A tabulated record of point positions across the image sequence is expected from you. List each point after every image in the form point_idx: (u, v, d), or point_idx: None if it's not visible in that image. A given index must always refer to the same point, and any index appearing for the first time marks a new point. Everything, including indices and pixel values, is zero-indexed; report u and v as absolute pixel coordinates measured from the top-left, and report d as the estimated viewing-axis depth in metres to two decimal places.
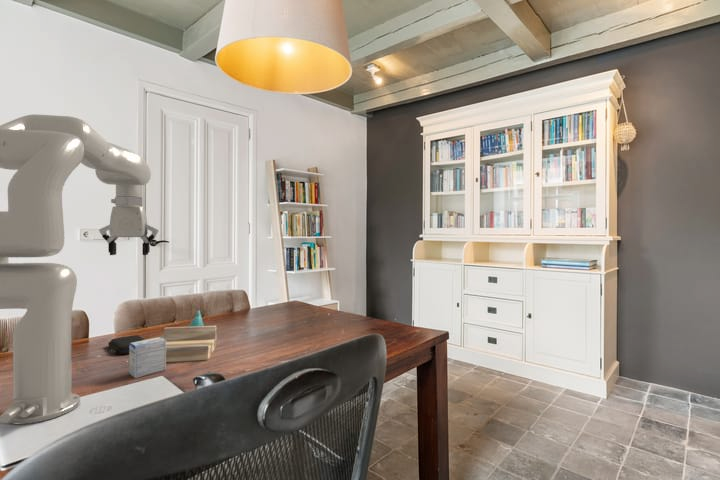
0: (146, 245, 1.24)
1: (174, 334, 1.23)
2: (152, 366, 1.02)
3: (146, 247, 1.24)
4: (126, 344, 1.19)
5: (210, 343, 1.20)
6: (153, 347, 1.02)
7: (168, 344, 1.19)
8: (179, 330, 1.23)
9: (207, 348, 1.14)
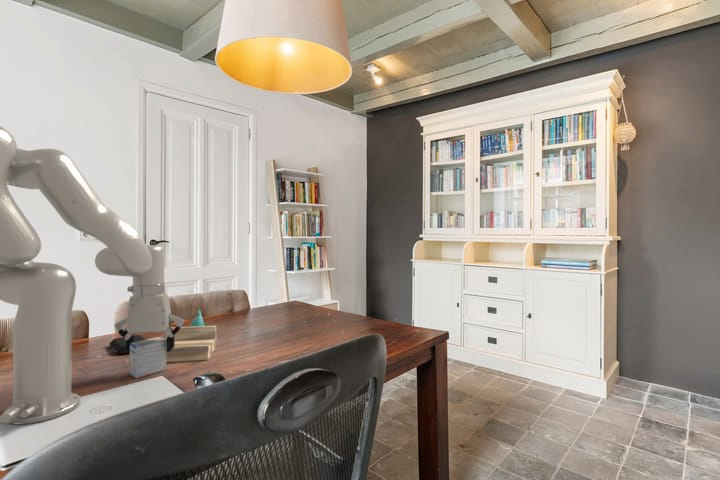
0: (171, 339, 1.04)
1: None
2: (152, 366, 1.02)
3: (171, 342, 1.04)
4: None
5: (210, 343, 1.20)
6: (154, 347, 1.02)
7: None
8: (179, 330, 1.23)
9: (207, 348, 1.14)
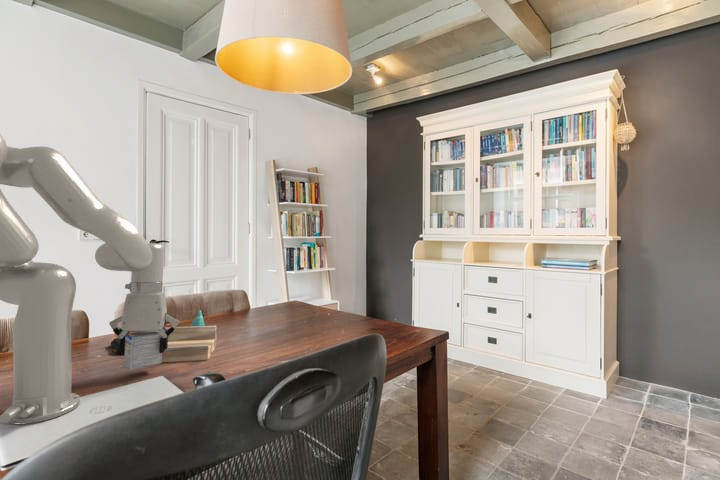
0: (164, 340, 1.02)
1: (174, 334, 1.23)
2: (147, 358, 1.00)
3: (164, 343, 1.02)
4: None
5: (210, 343, 1.20)
6: (149, 339, 1.00)
7: (168, 344, 1.19)
8: (179, 330, 1.23)
9: (207, 348, 1.14)
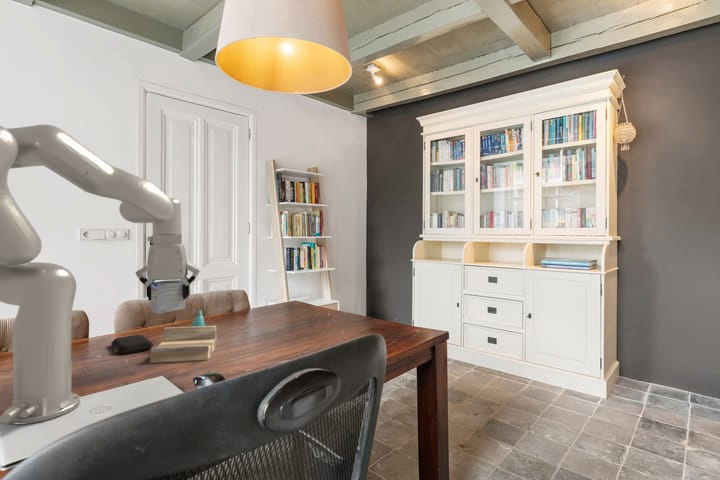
0: (186, 288, 1.10)
1: (174, 334, 1.23)
2: (172, 304, 1.09)
3: (186, 290, 1.10)
4: (128, 343, 1.20)
5: (210, 343, 1.20)
6: (173, 286, 1.09)
7: (168, 344, 1.19)
8: (179, 330, 1.23)
9: (207, 348, 1.14)
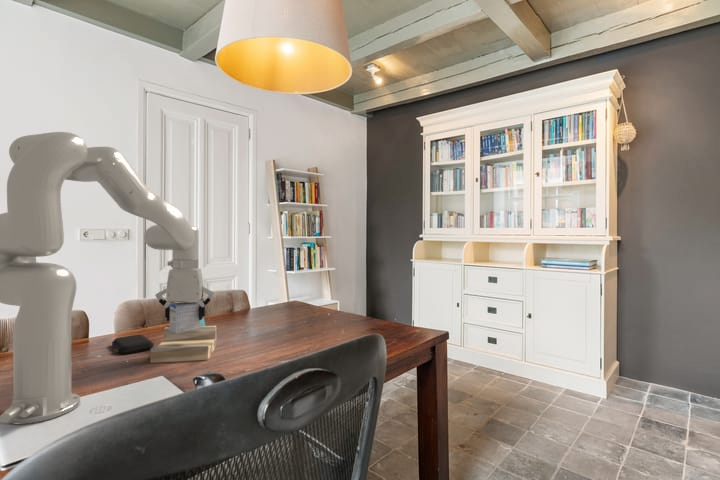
0: (202, 309, 1.19)
1: (174, 334, 1.23)
2: (189, 324, 1.17)
3: (202, 311, 1.19)
4: (129, 343, 1.20)
5: (210, 343, 1.20)
6: (190, 308, 1.17)
7: (168, 344, 1.19)
8: None
9: (207, 348, 1.14)
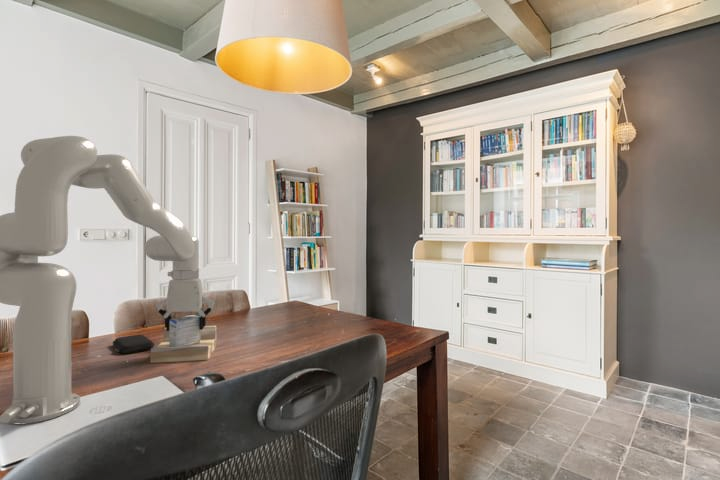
0: (203, 319, 1.19)
1: None
2: (189, 339, 1.17)
3: (203, 321, 1.19)
4: (130, 343, 1.20)
5: (210, 343, 1.20)
6: (190, 322, 1.17)
7: (168, 344, 1.19)
8: None
9: (207, 348, 1.14)
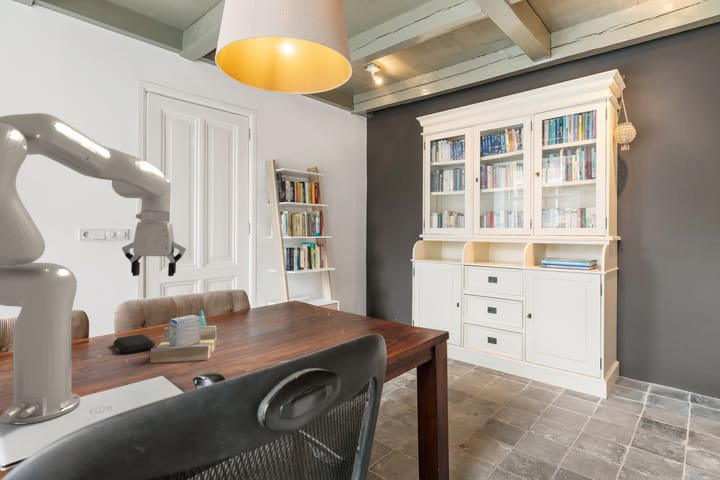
0: (172, 265, 1.12)
1: None
2: (189, 339, 1.17)
3: (172, 267, 1.11)
4: (130, 343, 1.20)
5: (210, 343, 1.20)
6: (190, 322, 1.17)
7: (168, 344, 1.19)
8: None
9: (207, 348, 1.14)
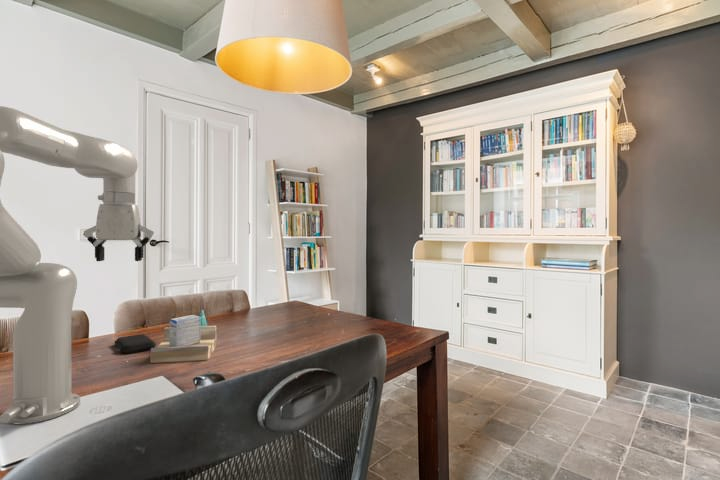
0: (139, 249, 1.06)
1: None
2: (189, 339, 1.17)
3: (139, 252, 1.06)
4: (131, 343, 1.20)
5: (210, 343, 1.20)
6: (190, 322, 1.17)
7: (168, 344, 1.19)
8: None
9: (207, 348, 1.14)
